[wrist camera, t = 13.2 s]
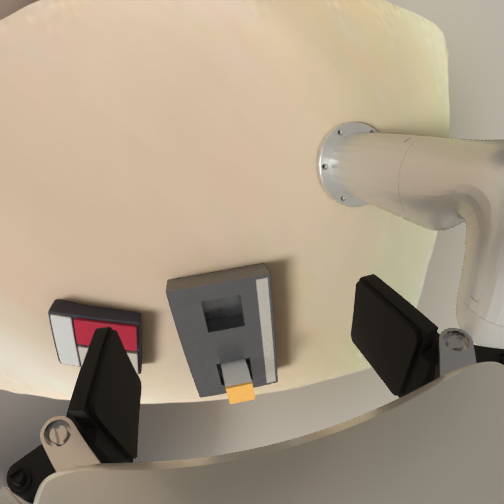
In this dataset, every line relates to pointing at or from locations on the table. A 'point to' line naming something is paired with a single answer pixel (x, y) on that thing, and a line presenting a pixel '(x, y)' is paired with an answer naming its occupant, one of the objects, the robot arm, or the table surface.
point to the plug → (237, 381)
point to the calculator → (92, 330)
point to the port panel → (225, 324)
